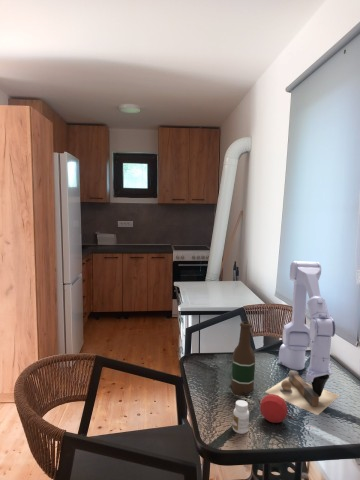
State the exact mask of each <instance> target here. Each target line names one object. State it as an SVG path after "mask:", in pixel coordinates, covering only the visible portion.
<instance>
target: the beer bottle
mask: <svg viewBox="0 0 360 480" xmlns="http://www.w3.org/2000/svg"><path fill="white" fill-rule="evenodd" d="M239 326H240V331H239V332H240V333H239V340H238V344H237V346H236V347H235V348H234V350H233V353H232V361H231V364H232V365H231V379H230V381H231V382H230V384H231V393H232V394H233V395H236V396H238V397H249V396H250V395H248V394H246V393H250V392H252V391H254V389H255V388H254V386H255V371H256V370H255V368H256V355H255V353H254V350H253V348H252V345H251V328H252V325H251V322H249V321H241V322H240V324H239Z"/></svg>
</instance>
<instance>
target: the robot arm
mask: <svg viewBox="0 0 360 480" xmlns="http://www.w3.org/2000/svg"><path fill="white" fill-rule="evenodd" d="M321 275H322V266H321V263H320V262H319V261H299V260H298V261H297V260H293V261H292V262H291V263H290V266H289V280H290V281H292V282H293V294H292V295H293V297H292V298H293V299H292V311H291V314H292V315H291V321H290V322H288V323H287V324H285V325H284V326H283V332H282V335H281V336H282V344H281V345H280V347H279V351H278V362H277V363H278V364H279V365H283V366H285V367H287V368H289V369H290V370H295V371H299V370H303V369H305V365H306V364H305V361H306V351H307V350H308V348H309V347H310V346H311V347H310V357H309V359H310V361H309V365H308V370H307V373H305V381H308V382H310V384H311V385H312V388H313V390H314V391H315V392H316V393H317V394H318V395H319V397H320V396H321V394H322V391H323V389H324V388H325V386H326V383H327V381H328V380H329V379H330V376H331V375H333V371H332V370H331V369H332V362H330V361H331V360H330V359H331V348H332V347H331V346H332V337H333V338H334V337H335V335H336V328H337V327H336V323H335V319H333V317H332V315H330V314H329V311H328V308H327V307H328V306H327V303H326V300H325V299H324V298H323V297H321V292H320V286H319V280H320V278H321ZM307 297H308V301H307ZM306 306H307V307H306ZM306 308H308V312H309V313H308V314H309V317H310V322H309V326H308V325H307V324H306V323H305V322H306V321H305V320H306V310H307V309H306Z"/></svg>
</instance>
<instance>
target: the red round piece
mask: <svg viewBox="0 0 360 480" xmlns="http://www.w3.org/2000/svg"><path fill="white" fill-rule="evenodd" d="M259 406H260V407H259V409H260V413H261V415H262V416H263V417H264V418H263V419H266V420H267V421H268V422H270V423H274V424H275V423H276V424H278V423H282V422H283V421H284V420H285V419H286V418H287V415H288V412H289V410H288V406H287V402H286V401H284V399H283V398H281V397H280V396H278V395H274V394H268V393H267V394H266V396H264V397H263V398H262V399H261V401H260V405H259Z"/></svg>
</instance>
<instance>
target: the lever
mask: <svg viewBox="0 0 360 480" xmlns="http://www.w3.org/2000/svg"><path fill="white" fill-rule="evenodd" d="M288 377H289V381H290V382H292V383H293V384H294V386H295V387H296V388H297V389H298V390H299V391H300V392H301V394H302V395H303V396H304V398H305V399H306V400H307V401H308V402H309V404H310V405H312V406H318V403H319V395H318V394H317V393H316V392H315V391H314V390H313V389H312V388H311V387H309V385H308V384H307V383H308V382H306V380H304V379H303V378H302V377H301V375H299V371H298V370H295V369H290V370H289V371H288Z"/></svg>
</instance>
